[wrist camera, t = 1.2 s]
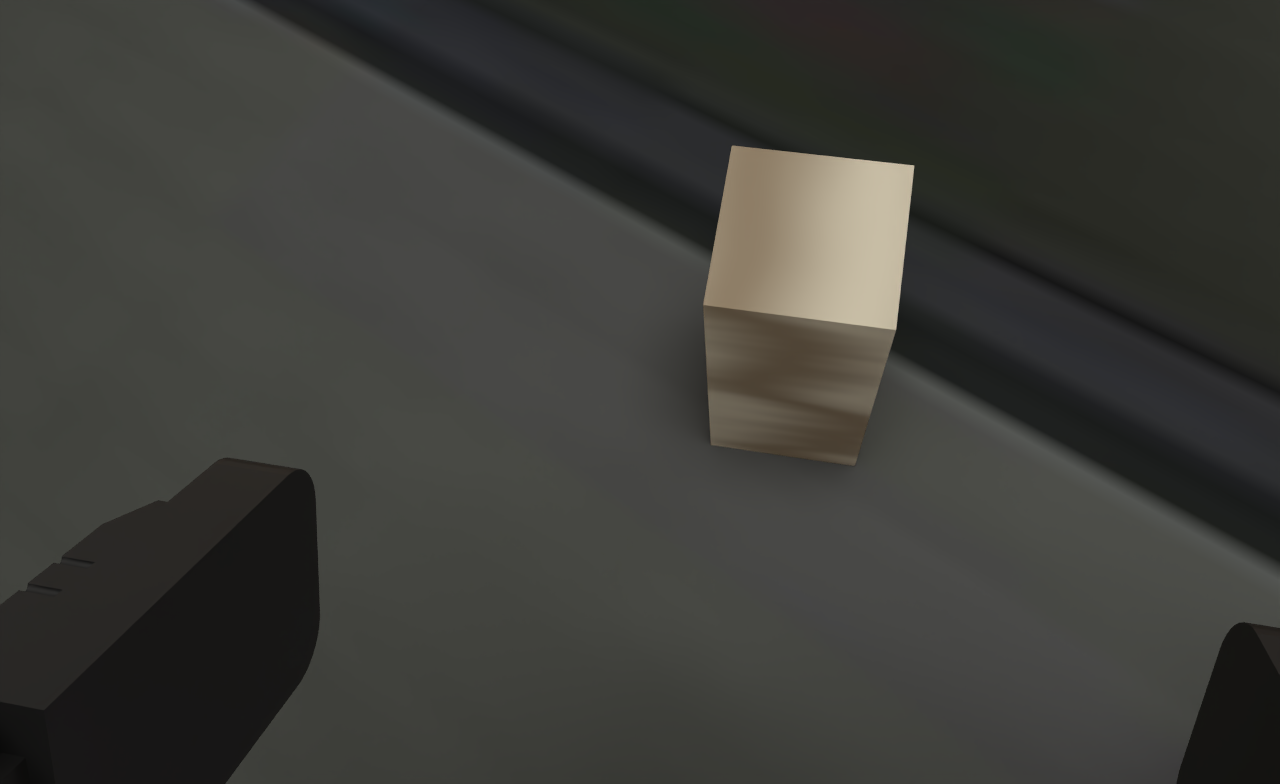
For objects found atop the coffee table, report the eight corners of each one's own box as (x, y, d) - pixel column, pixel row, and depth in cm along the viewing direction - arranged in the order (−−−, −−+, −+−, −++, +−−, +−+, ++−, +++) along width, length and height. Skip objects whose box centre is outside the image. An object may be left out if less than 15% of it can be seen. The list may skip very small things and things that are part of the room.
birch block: (870, 335, 38) (914, 165, 29) (854, 466, 36) (896, 330, 27) (732, 317, 39) (731, 145, 29) (710, 445, 37) (703, 304, 28)
